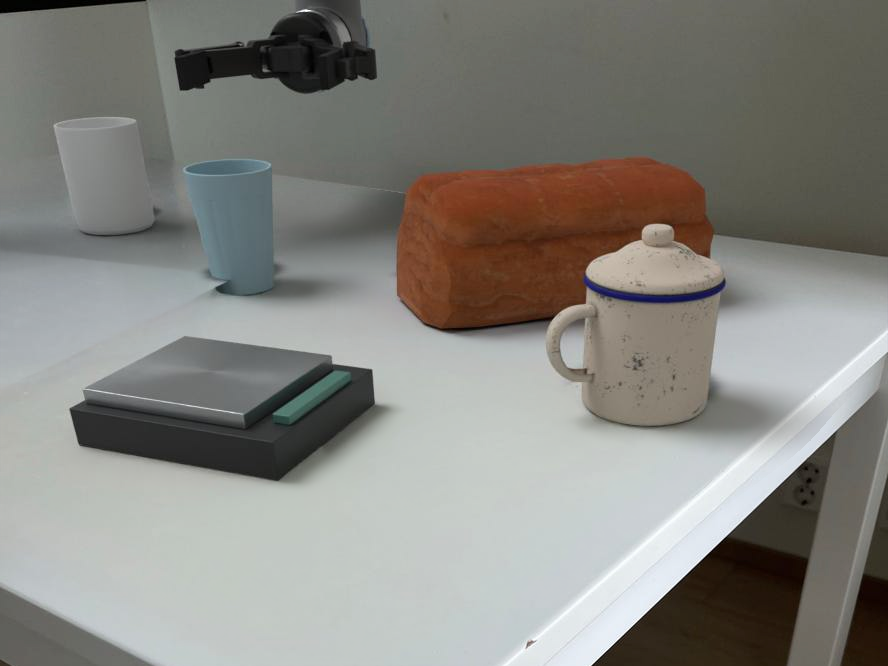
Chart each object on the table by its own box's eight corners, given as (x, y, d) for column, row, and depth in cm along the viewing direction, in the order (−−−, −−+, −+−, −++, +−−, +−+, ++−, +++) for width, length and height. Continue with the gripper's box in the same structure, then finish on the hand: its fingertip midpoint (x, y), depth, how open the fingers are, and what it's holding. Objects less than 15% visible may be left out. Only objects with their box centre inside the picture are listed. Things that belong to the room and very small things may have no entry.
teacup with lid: (667, 372, 74) (684, 205, 68) (735, 417, 67) (761, 235, 61) (519, 396, 71) (521, 222, 64) (574, 445, 64) (583, 256, 57)
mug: (159, 210, 121) (141, 111, 115) (153, 233, 111) (133, 126, 105) (85, 214, 119) (63, 114, 113) (73, 238, 110) (47, 130, 104)
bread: (725, 303, 88) (742, 172, 82) (437, 340, 81) (432, 200, 75) (643, 260, 100) (652, 143, 94) (386, 288, 93) (378, 164, 87)
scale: (78, 444, 65) (64, 393, 63) (195, 377, 75) (187, 330, 73) (278, 480, 60) (270, 426, 58) (375, 403, 70) (371, 354, 68)
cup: (267, 301, 90) (251, 175, 84) (189, 297, 91) (167, 173, 85) (297, 278, 96) (284, 159, 90) (223, 274, 97) (205, 158, 92)
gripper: (424, 89, 110) (387, 118, 93) (206, 90, 113) (131, 119, 96) (420, 9, 106) (381, 24, 89) (194, 12, 109) (113, 27, 91)
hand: (251, 73), depth 92 cm, fingers open, 13 cm apart
